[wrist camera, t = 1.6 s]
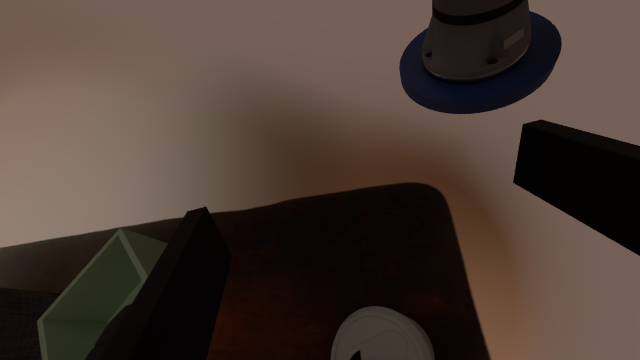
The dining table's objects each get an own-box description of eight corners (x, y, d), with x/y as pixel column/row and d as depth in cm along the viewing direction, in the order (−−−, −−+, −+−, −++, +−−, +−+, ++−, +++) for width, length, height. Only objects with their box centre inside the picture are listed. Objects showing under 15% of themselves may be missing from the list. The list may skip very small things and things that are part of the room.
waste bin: (173, 245, 43) (120, 227, 36) (215, 301, 34) (157, 294, 27) (108, 322, 40) (36, 321, 33) (138, 405, 32) (50, 427, 24)
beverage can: (353, 344, 26) (305, 353, 16) (396, 299, 27) (374, 282, 17) (401, 412, 22) (375, 475, 13) (451, 358, 23) (461, 379, 13)
